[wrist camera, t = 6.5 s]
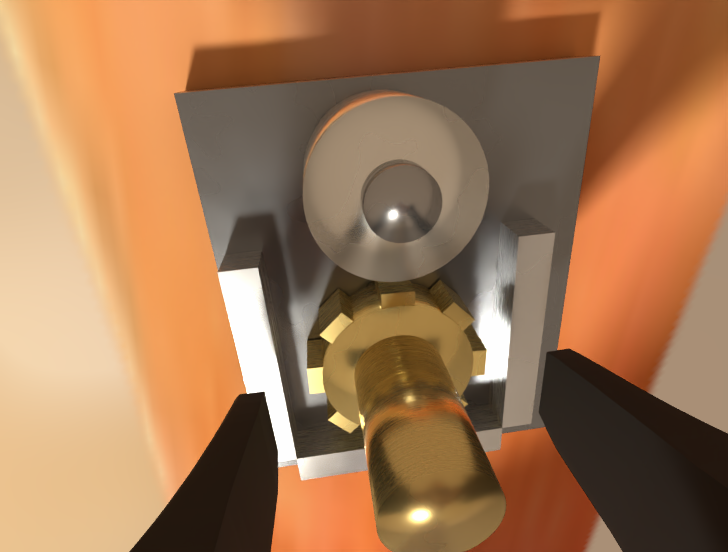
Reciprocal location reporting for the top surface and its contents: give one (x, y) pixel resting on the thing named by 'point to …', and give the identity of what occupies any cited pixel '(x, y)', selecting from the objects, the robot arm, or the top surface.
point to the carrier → (393, 222)
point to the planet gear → (410, 410)
